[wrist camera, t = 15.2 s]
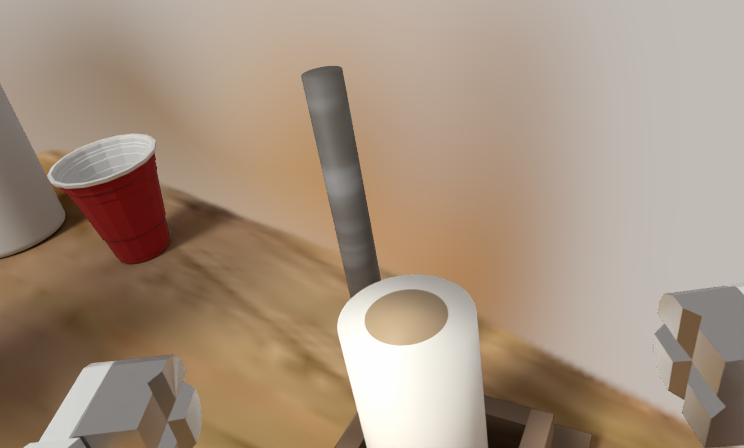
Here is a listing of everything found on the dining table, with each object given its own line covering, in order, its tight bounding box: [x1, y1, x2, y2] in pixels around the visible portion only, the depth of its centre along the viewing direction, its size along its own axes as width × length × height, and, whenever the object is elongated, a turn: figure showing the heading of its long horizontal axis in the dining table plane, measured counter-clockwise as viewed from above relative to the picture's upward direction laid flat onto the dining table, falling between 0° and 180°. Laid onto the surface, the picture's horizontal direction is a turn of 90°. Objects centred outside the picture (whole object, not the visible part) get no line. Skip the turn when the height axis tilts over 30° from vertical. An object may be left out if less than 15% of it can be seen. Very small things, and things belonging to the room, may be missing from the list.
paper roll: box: [337, 274, 488, 448], centre depth 27 cm, size 6×6×13 cm
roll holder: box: [301, 66, 592, 448], centre depth 25 cm, size 14×14×23 cm
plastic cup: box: [47, 134, 169, 264], centre depth 59 cm, size 11×11×12 cm
